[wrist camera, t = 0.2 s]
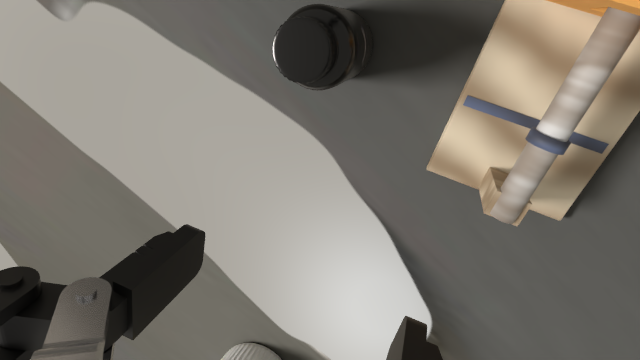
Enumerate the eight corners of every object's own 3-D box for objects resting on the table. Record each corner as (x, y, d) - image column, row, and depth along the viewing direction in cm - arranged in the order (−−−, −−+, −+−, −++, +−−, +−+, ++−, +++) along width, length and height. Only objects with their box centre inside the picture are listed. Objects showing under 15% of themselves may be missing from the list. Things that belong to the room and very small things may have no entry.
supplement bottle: (387, 50, 36) (364, 62, 26) (335, 91, 39) (296, 116, 29) (347, -9, 35) (306, -21, 25) (297, 38, 39) (242, 44, 28)
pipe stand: (581, -163, 27) (629, -229, 20) (793, -116, 25) (932, -171, 18) (427, 166, 40) (423, 197, 33) (557, 216, 37) (583, 261, 30)
